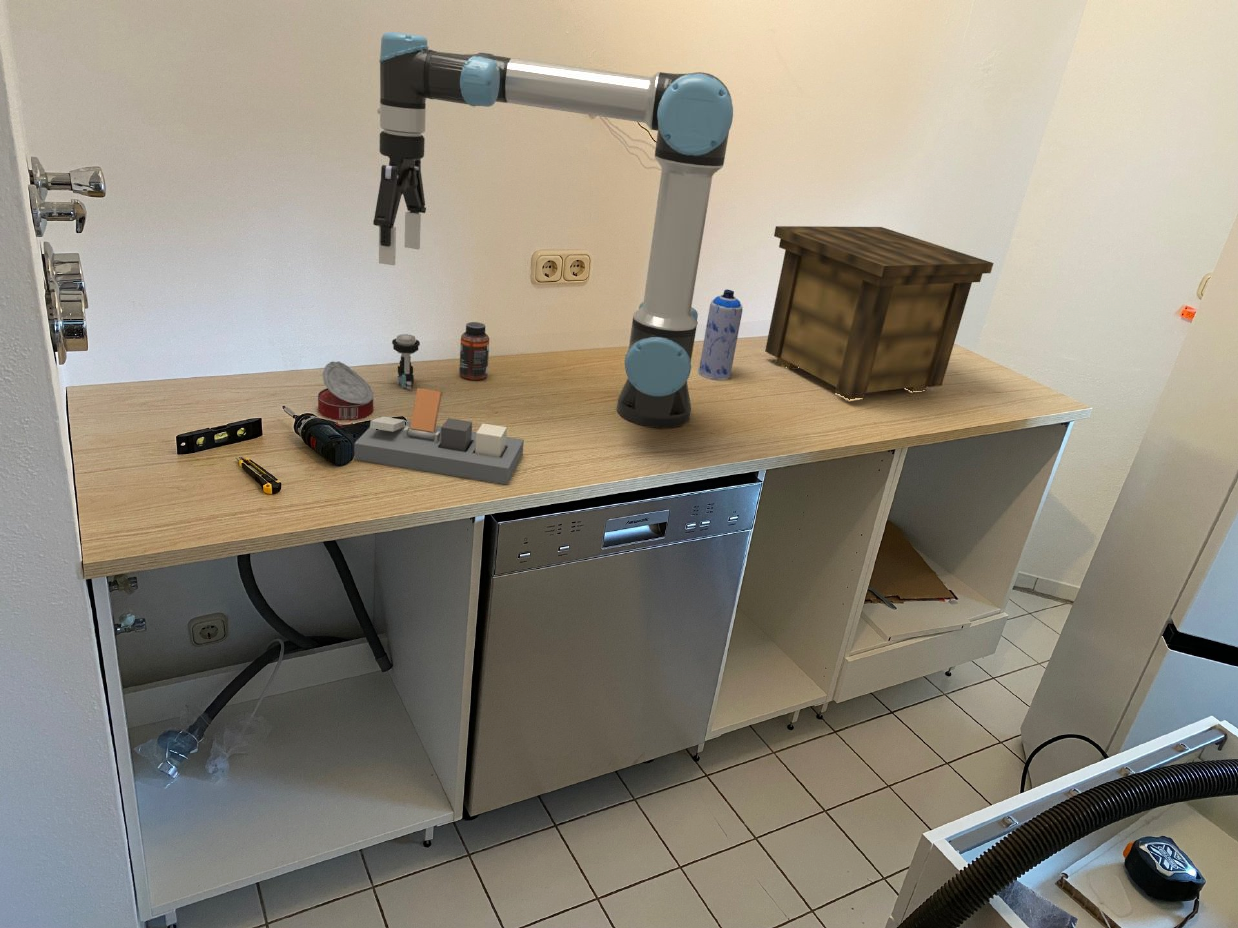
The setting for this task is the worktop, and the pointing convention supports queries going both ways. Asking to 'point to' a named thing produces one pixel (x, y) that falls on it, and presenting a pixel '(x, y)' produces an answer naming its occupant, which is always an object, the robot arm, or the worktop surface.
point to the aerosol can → (720, 337)
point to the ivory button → (490, 440)
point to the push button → (405, 358)
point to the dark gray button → (456, 434)
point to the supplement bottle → (474, 352)
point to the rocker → (387, 424)
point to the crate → (868, 307)
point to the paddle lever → (425, 413)
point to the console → (437, 455)
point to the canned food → (344, 394)
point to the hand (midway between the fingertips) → (400, 256)
